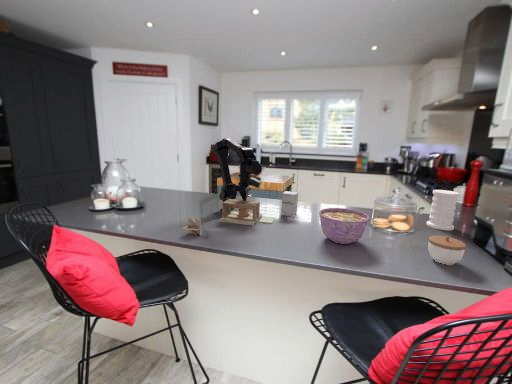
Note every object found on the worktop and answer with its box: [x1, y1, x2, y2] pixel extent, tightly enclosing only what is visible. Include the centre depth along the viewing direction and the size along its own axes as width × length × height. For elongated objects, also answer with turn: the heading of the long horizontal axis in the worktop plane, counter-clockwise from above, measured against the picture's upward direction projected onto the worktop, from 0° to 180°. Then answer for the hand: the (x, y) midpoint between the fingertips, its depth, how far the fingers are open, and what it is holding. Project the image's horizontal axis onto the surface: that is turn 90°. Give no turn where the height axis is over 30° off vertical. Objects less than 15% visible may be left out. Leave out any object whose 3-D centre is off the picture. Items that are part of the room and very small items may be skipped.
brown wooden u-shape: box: [221, 199, 261, 221], centre depth 133 cm, size 9×17×7 cm, turn 74°
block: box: [238, 208, 249, 217], centre depth 137 cm, size 4×4×7 cm
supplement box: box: [280, 190, 299, 217], centre depth 145 cm, size 7×7×13 cm
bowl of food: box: [318, 207, 370, 245], centre depth 110 cm, size 20×20×12 cm
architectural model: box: [182, 217, 203, 236], centre depth 112 cm, size 3×7×7 cm, turn 84°
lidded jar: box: [427, 235, 467, 266], centre depth 93 cm, size 11×11×9 cm
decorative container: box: [426, 189, 460, 231], centre depth 131 cm, size 12×12×18 cm
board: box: [220, 210, 263, 226], centre depth 136 cm, size 16×17×2 cm
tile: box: [258, 215, 276, 225], centre depth 134 cm, size 9×6×1 cm
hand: (244, 201), depth 138 cm, fingers closed
